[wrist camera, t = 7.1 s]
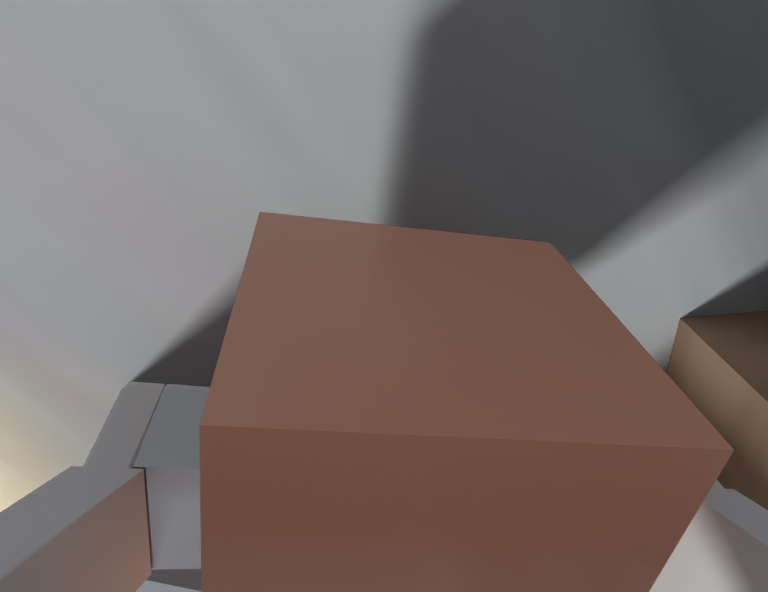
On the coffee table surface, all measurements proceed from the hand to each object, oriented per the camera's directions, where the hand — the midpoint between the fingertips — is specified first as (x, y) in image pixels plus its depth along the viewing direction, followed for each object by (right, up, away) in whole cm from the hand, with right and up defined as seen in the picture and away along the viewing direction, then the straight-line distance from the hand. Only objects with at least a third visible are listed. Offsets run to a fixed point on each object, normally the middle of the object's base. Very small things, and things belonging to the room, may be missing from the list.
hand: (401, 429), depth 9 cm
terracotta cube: (0, +1, +2) cm, 2 cm away
